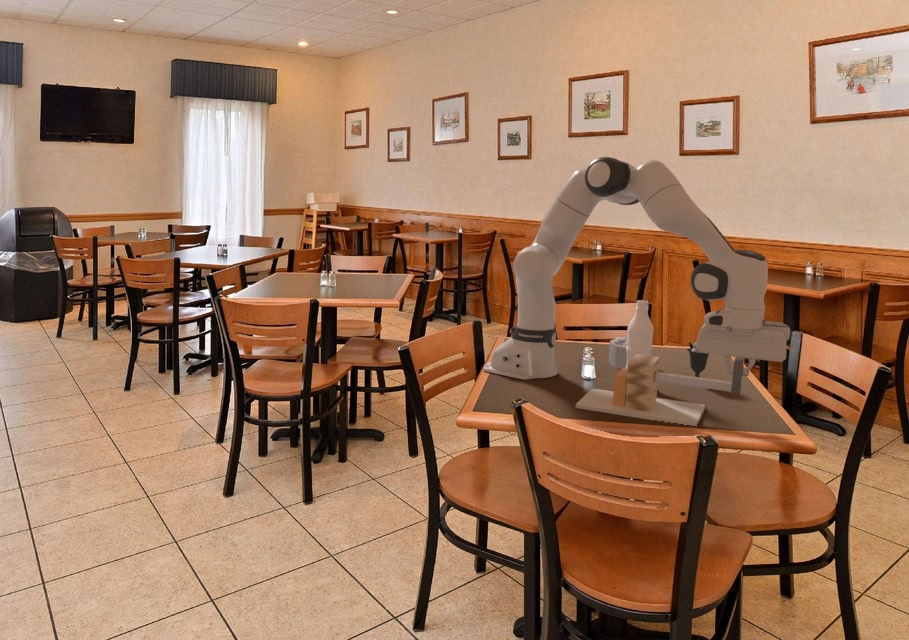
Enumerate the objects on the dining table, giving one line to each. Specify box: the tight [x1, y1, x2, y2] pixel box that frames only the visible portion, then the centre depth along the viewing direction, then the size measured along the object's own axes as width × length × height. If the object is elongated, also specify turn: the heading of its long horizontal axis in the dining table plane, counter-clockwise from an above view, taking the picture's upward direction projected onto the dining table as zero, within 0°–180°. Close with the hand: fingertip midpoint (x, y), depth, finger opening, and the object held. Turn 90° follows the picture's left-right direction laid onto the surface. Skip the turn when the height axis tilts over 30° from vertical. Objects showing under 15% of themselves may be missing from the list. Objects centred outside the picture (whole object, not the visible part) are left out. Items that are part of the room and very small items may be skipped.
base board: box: [575, 388, 706, 427], centre depth 184 cm, size 30×16×1 cm, turn 64°
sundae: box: [686, 340, 710, 377], centre depth 206 cm, size 7×7×15 cm
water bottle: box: [626, 299, 654, 369], centre depth 201 cm, size 7×7×25 cm
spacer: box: [613, 368, 628, 407], centre depth 185 cm, size 3×8×8 cm, turn 154°
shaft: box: [654, 357, 746, 395], centre depth 177 cm, size 24×5×8 cm, turn 64°
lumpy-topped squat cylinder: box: [608, 336, 627, 370], centre depth 226 cm, size 10×13×9 cm
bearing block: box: [625, 354, 660, 412], centre depth 183 cm, size 6×10×12 cm, turn 154°
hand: (738, 374), depth 172 cm, fingers closed on shaft, 2 cm apart
